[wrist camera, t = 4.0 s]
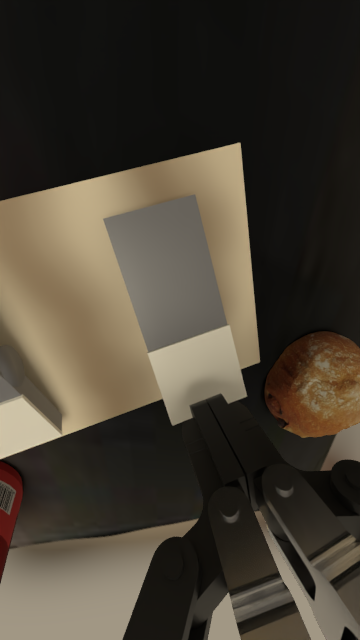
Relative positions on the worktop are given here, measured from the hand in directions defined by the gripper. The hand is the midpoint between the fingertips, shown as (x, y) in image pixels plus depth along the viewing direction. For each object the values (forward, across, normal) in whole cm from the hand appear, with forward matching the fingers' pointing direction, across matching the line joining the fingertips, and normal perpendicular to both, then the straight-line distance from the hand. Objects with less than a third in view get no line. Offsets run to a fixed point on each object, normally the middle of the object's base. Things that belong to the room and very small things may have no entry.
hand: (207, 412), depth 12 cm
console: (+9, +5, -4) cm, 11 cm away
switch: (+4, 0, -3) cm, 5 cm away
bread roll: (+9, -12, +10) cm, 19 cm away
